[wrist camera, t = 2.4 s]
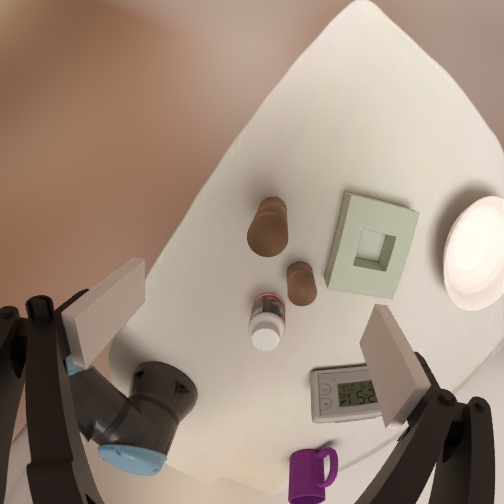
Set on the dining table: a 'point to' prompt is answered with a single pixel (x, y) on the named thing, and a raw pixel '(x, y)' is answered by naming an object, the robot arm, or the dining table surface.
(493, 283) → the bowl
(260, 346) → the pill bottle
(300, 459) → the mug
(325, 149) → the dining table surface
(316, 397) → the digital clock
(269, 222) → the long dowel
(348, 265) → the hole board
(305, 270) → the short dowel
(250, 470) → the dining table surface
